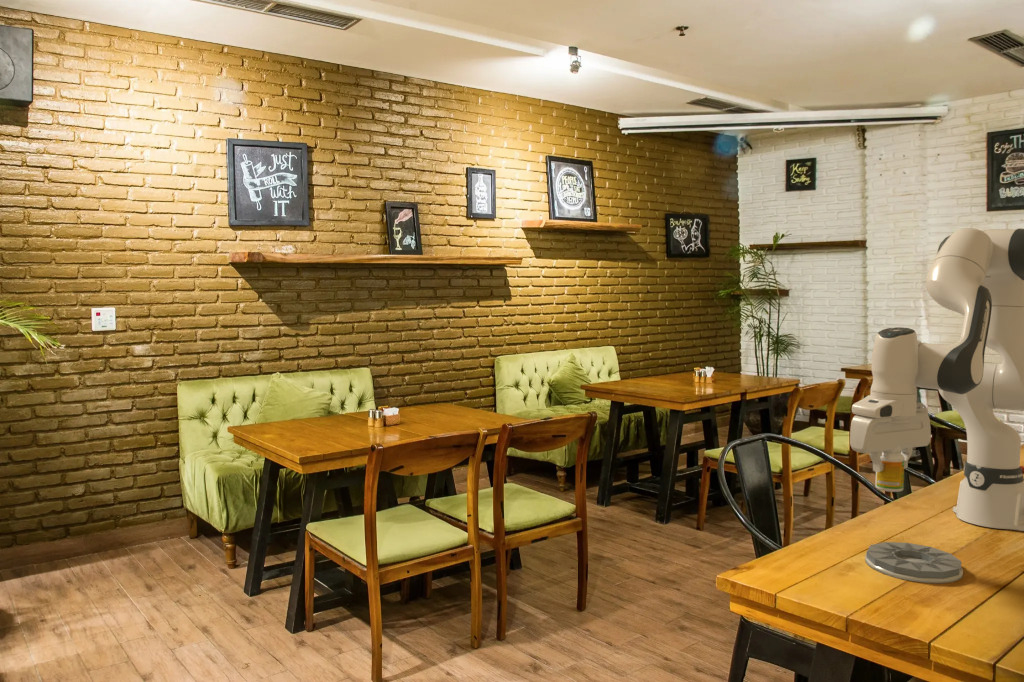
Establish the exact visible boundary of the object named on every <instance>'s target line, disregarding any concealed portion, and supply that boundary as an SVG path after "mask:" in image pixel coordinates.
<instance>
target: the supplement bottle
mask: <svg viewBox="0 0 1024 682" xmlns="http://www.w3.org/2000/svg"><path fill="white" fill-rule="evenodd" d="M900 453H901V447H900V446H897V447H896V449H895V450H889V451H882V456H880V458H881V461H882V463H884V464H885V467H884V468H885V471H883V472H876V471H875V481H874V482H875V488H876V489H877V490H880V491H884V492H893V493H897V492H898V493H899V492H902V491H904V485H905V484H904V481H905V469H904V456H903V455H902V454H900Z"/></svg>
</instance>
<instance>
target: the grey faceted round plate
mask: <svg viewBox="0 0 1024 682" xmlns="http://www.w3.org/2000/svg"><path fill="white" fill-rule="evenodd" d="M864 561H865V563H866V564H867V566H869V568H871V569H873V570H875V571H876V572H879V573H881V574H882V575H886V576H889V577H892V578H896V579H900V580H904V581H910V582H913V583H915V582H916V583H923V584H948V583H954V582H957V581H959V580H961V579H962V578H963V577H964V575H963V574H964V570H963V567H962V561H961V560H960V559H959V558H957V557H956V556H954V555H953V554H952V553H950V552H947V551H944V550H943V549H939V548H935V547H932V546H927V545H924V544H923V545H922V544H917V543H910V542H901V541H900V542H897V541H896V542H894V541H884V542H880V543H879V542H878V543H874V544H870V545H869V546H868V549H866V553H865V556H864Z"/></svg>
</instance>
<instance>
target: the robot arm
mask: <svg viewBox="0 0 1024 682" xmlns="http://www.w3.org/2000/svg"><path fill="white" fill-rule="evenodd" d="M925 287H926V291H927V292H928V294H929V296H930V298H931V299H932V300H933V301H935V302H936V303H937V304H938V305H939V306H941V307H943V308H945V309H947V310H950V311H952V312H955V313H959V314H961V315H962V316H964V317H963V320H962V321H963V322H962V325H961V326H962V327H961V333H960V337H959V339H958V341H956V342H954V343H950V344H943V343H942V344H940V343H930V342H929V343H927V342H922V341H920V340H918V336H917V335H918V334H917V332H916V330H914V329H913V328H909V327H900V326H899V327H888V328H884V329H882V330H881V329H880V331H878V332H877V333H876V336H875V339H874V342H873V348H872V354H871V366H870V367H871V374H872V384H871V386H870V394H868V395H867V396H865V397H864V398H862V399H861V400H858V401H856V402H854V403H853V404H852V406H851V413H852V414H854V416H853V417H852V419H851V423H850V433H849V443H850V444H849V445H850V447H851V449H852V450H853V451H854V452H857V453H861V454H868V455H869V458H870V460H871V462H872V471H873V472H875V473H876V472H883V471H885V468H884V467H885V464H884V463H882V461H881V458H880V456H882V451H889V450H895V449H896V447H897V446H900V447H901V452H900V454H902V455H903V456H904V470H905V469H908V464H909V462H908V461H910V458H911V457H912V454H913V448H919V447H927V446H928V445H930V443H931V441H932V440H931V439H932V438H931V437H932V432H931V431H932V428H931V420H930V416H929V414H928V413H929V412H928V411H929V410H928V407H927V406H926V405H925V404H924V403H923V402H917V401H918V400H917V399H918V389H917V388H918V387H919V388H921V389H930V390H938V392H939V394H940V396H941V397H942V399H943V400H944V401H946V402H947V403H948V404H950V405H951V406H952V408H953V409H954V410H956V412H957V413H958V414H959V416H960V418H961V420H962V422H963V423H964V428H965V431H966V444H967V445H966V447H967V448H966V449H967V452H966V460H965V462H964V466H963V475H964V476H965V477H964V478H963V479H962V480H960V483H959V487H958V488H959V489H958V496H957V503H956V505H955V506H953V507H952V512H954V513H955V515H956V518H958V519H960V520H961V521H963V522H966V523H968V524H973V525H975V526H976V525H977V526H981V527H986V528H992V529H1001V530H1013V531H1020V532H1024V465H1020V463H1021V449H1022V448H1021V444H1022V439H1021V435H1020V434H1019V432H1018V431H1017V430H1016V429H1015V428H1013V427H1012V426H1010V425H1009V424H1006V423H1004V422H1002V421H1001V420H1000V419H998V418H997V417H996V415H995V414H994V409H995V410H996V409H999V410H1009V411H1010V410H1011V411H1017V412H1018V411H1019V412H1020V411H1021V412H1024V228H1017V229H1012V228H1010V229H1009V228H993V229H992V228H991V229H990V228H989V229H987V230H980V229H978V228H972V227H966V228H960V229H958V230H956V231H954V232H952V234H950V235H948V236H946V237H944V239H943V240H942V241H941V242H940V244H939V246H938V249H937V253H936V255H935V258H934V260H933V262H932V263H931V266H930V268H929V270H928V272H927V275H926V279H925ZM986 348H988V349H990V350H992V351H994V352H996V353H998V354H999V356H1000V358H1001V363H1000V362H999V363H995V362H993V363H992V362H991V363H989V362H985V351H986Z"/></svg>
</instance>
